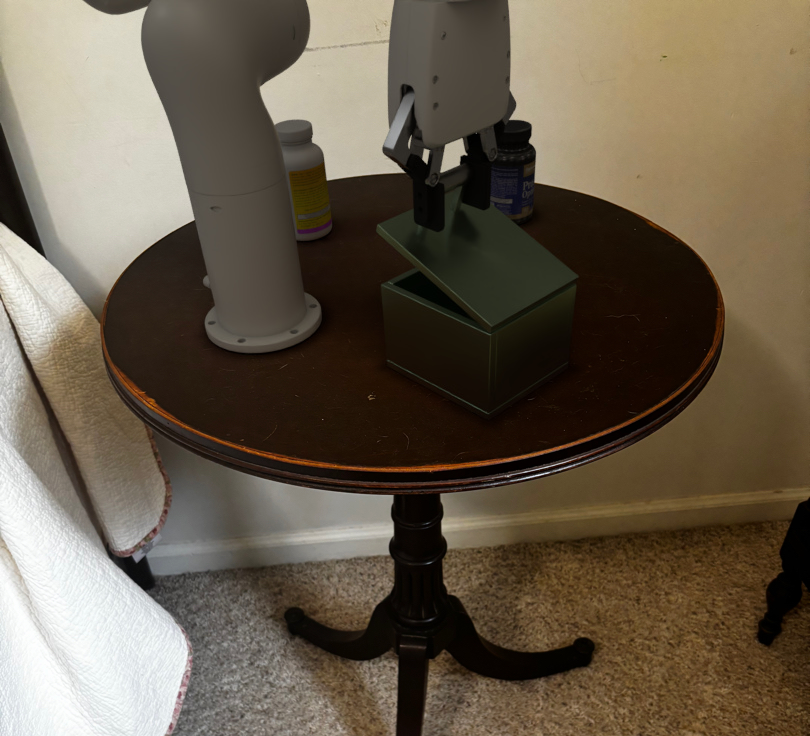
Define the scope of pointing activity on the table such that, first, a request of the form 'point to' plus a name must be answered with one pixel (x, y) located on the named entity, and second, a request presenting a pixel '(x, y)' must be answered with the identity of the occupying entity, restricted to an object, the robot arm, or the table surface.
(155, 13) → the robot arm
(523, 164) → the pill bottle
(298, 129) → the supplement bottle
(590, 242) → the table surface
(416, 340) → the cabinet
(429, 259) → the lid
